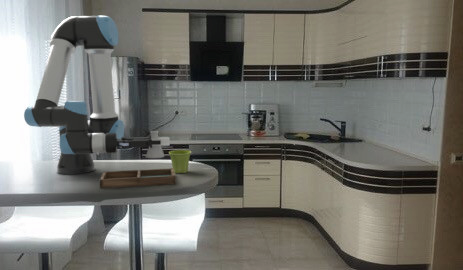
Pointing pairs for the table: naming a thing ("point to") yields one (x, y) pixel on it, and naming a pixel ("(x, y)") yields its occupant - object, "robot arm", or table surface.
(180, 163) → the plant pot
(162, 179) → the walnut caddy
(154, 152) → the flask
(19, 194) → the table surface
